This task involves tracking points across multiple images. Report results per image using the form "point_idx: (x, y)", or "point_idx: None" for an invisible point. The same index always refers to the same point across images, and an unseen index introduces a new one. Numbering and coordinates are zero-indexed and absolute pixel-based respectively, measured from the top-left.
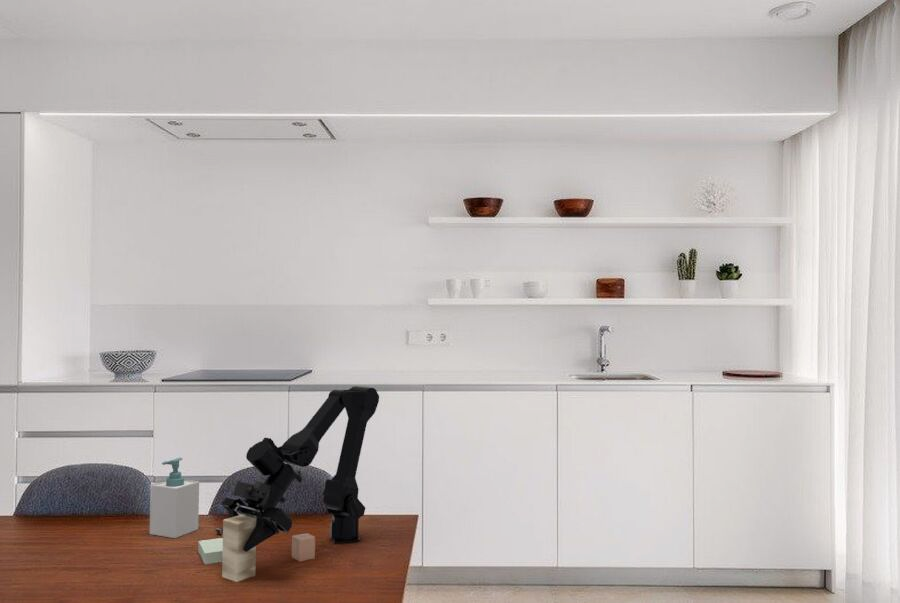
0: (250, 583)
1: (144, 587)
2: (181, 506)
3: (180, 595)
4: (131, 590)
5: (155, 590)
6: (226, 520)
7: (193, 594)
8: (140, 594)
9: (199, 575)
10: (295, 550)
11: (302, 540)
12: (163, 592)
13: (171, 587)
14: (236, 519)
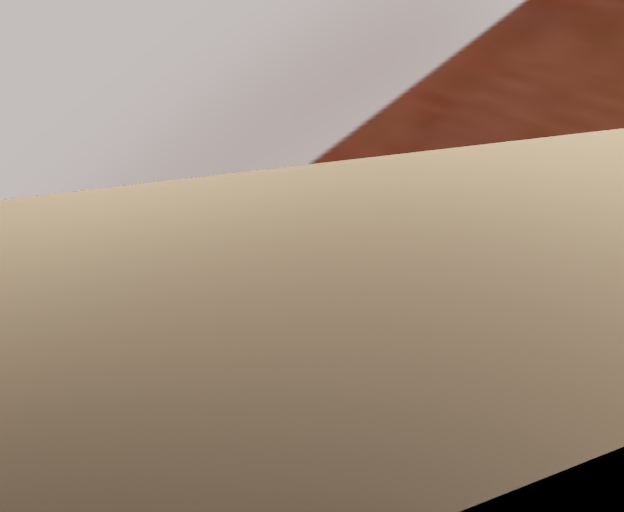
0: None
1: (610, 48)
2: None
3: (369, 119)
4: (607, 3)
5: (525, 68)
6: (512, 152)
7: (330, 161)
8: (521, 15)
9: None
10: None
11: None
12: (468, 83)
13: (510, 129)
14: (331, 495)
